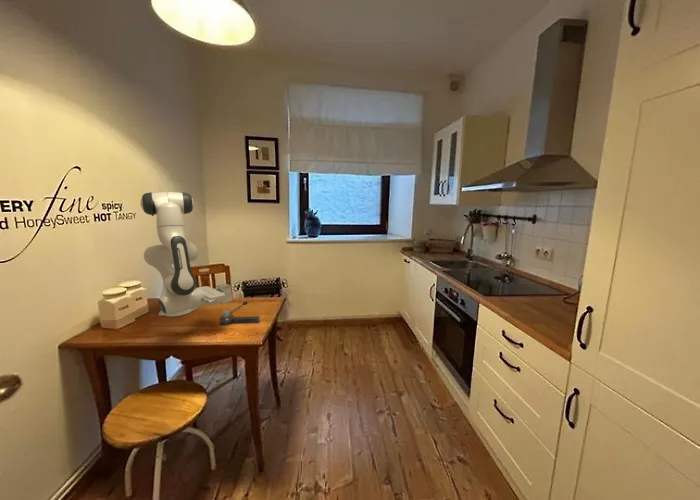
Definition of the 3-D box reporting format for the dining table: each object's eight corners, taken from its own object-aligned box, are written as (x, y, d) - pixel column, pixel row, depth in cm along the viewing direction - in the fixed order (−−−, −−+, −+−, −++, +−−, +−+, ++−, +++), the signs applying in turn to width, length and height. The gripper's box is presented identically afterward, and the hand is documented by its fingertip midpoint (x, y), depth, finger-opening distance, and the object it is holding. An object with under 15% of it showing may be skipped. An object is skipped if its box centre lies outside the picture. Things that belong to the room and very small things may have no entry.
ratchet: (217, 325, 157) (216, 313, 155) (222, 320, 163) (221, 308, 162) (257, 324, 158) (256, 312, 156) (260, 319, 164) (259, 307, 163)
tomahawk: (233, 318, 168) (233, 316, 168) (222, 316, 169) (222, 314, 169) (254, 304, 188) (254, 303, 188) (244, 302, 189) (244, 301, 189)
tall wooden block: (217, 301, 158) (216, 285, 156) (227, 298, 162) (226, 283, 160) (222, 303, 154) (221, 288, 153) (232, 300, 158) (231, 285, 157)
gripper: (206, 296, 140) (235, 289, 150) (189, 287, 154) (216, 281, 164) (208, 309, 141) (236, 301, 151) (190, 299, 155) (217, 292, 165)
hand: (225, 291), depth 158 cm, fingers closed on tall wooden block, 5 cm apart
